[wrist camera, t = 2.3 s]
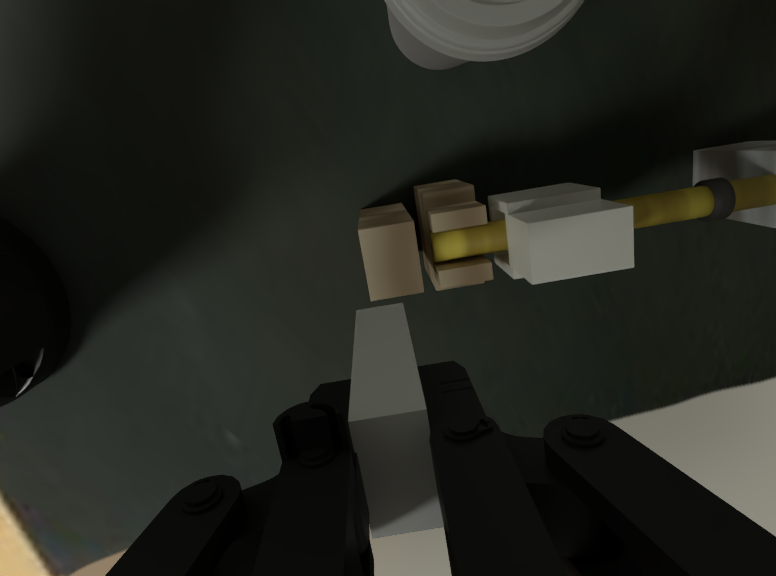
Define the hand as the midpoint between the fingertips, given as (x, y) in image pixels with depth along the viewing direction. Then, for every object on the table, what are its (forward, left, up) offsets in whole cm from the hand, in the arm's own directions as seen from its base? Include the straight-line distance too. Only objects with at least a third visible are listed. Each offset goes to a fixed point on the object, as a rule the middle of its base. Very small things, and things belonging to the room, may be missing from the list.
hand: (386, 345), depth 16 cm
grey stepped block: (+10, 0, -15) cm, 18 cm away
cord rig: (+14, 0, -20) cm, 24 cm away
